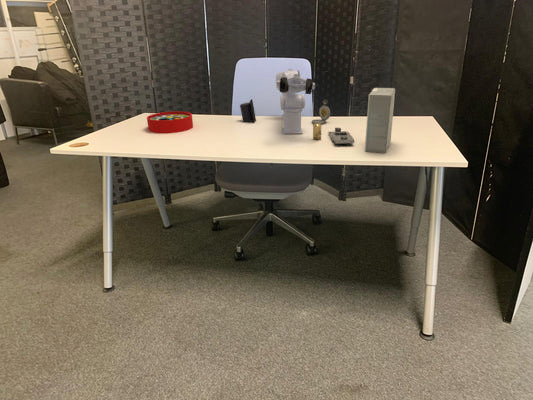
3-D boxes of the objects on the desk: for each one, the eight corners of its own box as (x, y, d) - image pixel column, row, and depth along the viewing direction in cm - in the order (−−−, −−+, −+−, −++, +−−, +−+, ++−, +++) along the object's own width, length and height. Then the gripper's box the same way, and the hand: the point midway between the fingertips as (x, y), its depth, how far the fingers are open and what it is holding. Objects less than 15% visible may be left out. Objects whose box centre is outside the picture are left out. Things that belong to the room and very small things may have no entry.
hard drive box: (370, 140, 152) (374, 87, 144) (390, 142, 149) (396, 88, 141) (363, 151, 139) (368, 93, 131) (386, 153, 136) (392, 94, 128)
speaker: (260, 120, 189) (257, 98, 185) (254, 123, 184) (251, 101, 180) (246, 120, 192) (243, 99, 188) (240, 123, 188) (237, 101, 184)
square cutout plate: (328, 134, 161) (328, 127, 160) (345, 134, 161) (345, 126, 160) (335, 146, 145) (335, 138, 144) (354, 146, 145) (354, 138, 144)
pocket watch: (310, 124, 179) (310, 102, 175) (314, 120, 187) (314, 99, 183) (327, 125, 177) (328, 102, 173) (331, 121, 184) (332, 99, 180)
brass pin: (312, 138, 157) (312, 123, 154) (320, 138, 157) (320, 123, 154) (313, 140, 154) (313, 125, 151) (321, 140, 154) (321, 125, 151)
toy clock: (188, 110, 188) (195, 118, 171) (189, 122, 191) (196, 131, 173) (145, 113, 183) (147, 122, 165) (147, 126, 185) (149, 136, 168)
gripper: (276, 70, 151) (279, 76, 139) (313, 72, 152) (319, 79, 140) (275, 89, 154) (277, 96, 142) (311, 91, 155) (317, 98, 143)
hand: (298, 89), depth 141 cm, fingers open, 7 cm apart
